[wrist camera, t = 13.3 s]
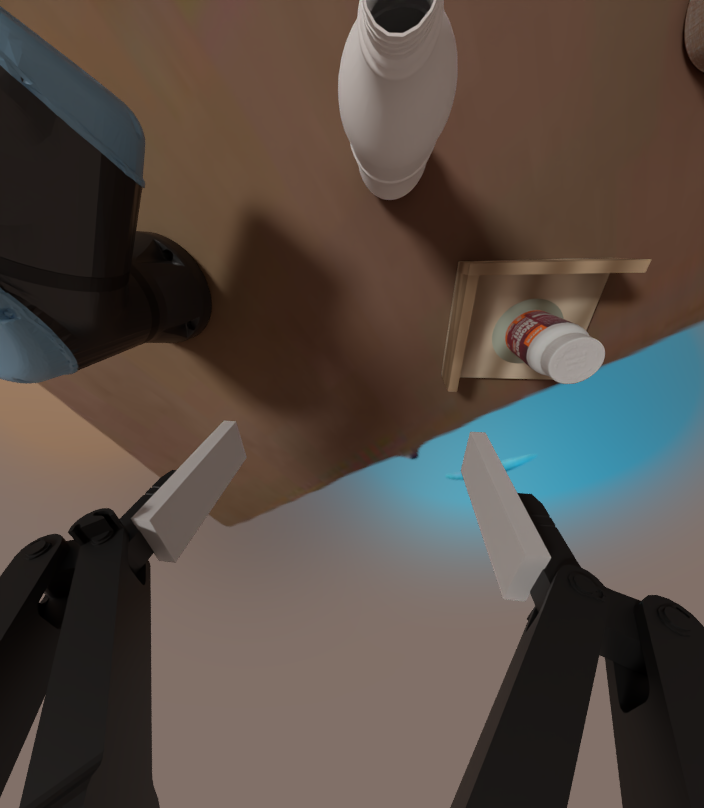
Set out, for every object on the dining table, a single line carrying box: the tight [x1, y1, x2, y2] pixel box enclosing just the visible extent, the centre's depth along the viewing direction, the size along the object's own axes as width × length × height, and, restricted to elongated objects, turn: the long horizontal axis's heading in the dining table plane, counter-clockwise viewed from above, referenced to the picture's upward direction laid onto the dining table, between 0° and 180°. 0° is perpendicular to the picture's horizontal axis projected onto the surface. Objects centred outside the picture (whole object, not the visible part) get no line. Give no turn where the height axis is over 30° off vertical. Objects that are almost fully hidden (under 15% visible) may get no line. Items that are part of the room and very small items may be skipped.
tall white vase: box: [338, 0, 458, 200], centre depth 20 cm, size 7×7×25 cm
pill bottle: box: [504, 310, 605, 384], centre depth 32 cm, size 6×6×11 cm
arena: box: [441, 258, 651, 392], centre depth 35 cm, size 18×16×6 cm
